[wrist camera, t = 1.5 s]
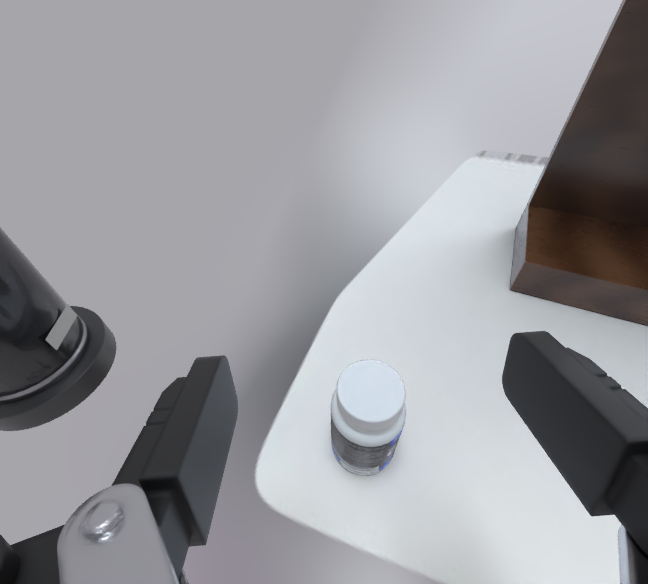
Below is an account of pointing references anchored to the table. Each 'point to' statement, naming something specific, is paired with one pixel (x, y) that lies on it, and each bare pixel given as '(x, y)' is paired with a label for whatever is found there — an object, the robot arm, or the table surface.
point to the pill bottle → (367, 416)
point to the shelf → (596, 188)
